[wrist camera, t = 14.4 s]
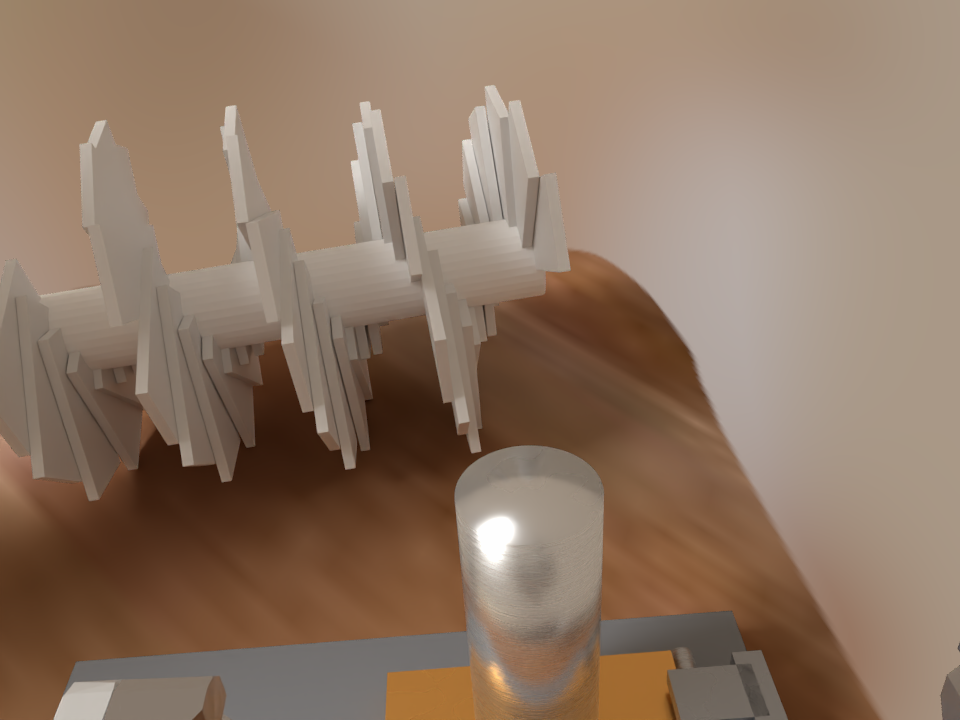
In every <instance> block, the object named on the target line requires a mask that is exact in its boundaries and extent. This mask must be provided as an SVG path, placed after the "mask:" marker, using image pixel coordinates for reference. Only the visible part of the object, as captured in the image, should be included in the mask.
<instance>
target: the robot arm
mask: <svg viewBox="0 0 960 720" xmlns="http://www.w3.org/2000/svg"><path fill="white" fill-rule="evenodd" d="M958 650H959V651H960V643H959V646H958ZM226 696H227V694H226V692H225V689H224V686H223V683H222V680H221V677H220V676H202V677H176V678H150V679H122V680H104V681H86V682H74V683H73V684H72V686H71V687H70V688H69V690H68V691H67V692H66V693H65V695H64V696H63V697H62V699H61V702H60V704H59V707H58V709H57V712H56V714H55V717H54V719H53V720H232V719H230V718H229V717H227V716H226V715H224V714H223V711H224V706H225V701H226ZM941 705H942V717H943V720H960V665H959V666H958V667H957V668H955V669H954V670H953V671H951V672H950V673H949V674H947V677H946V680H945V683H944V686H943V689H942V692H941Z"/></svg>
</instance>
